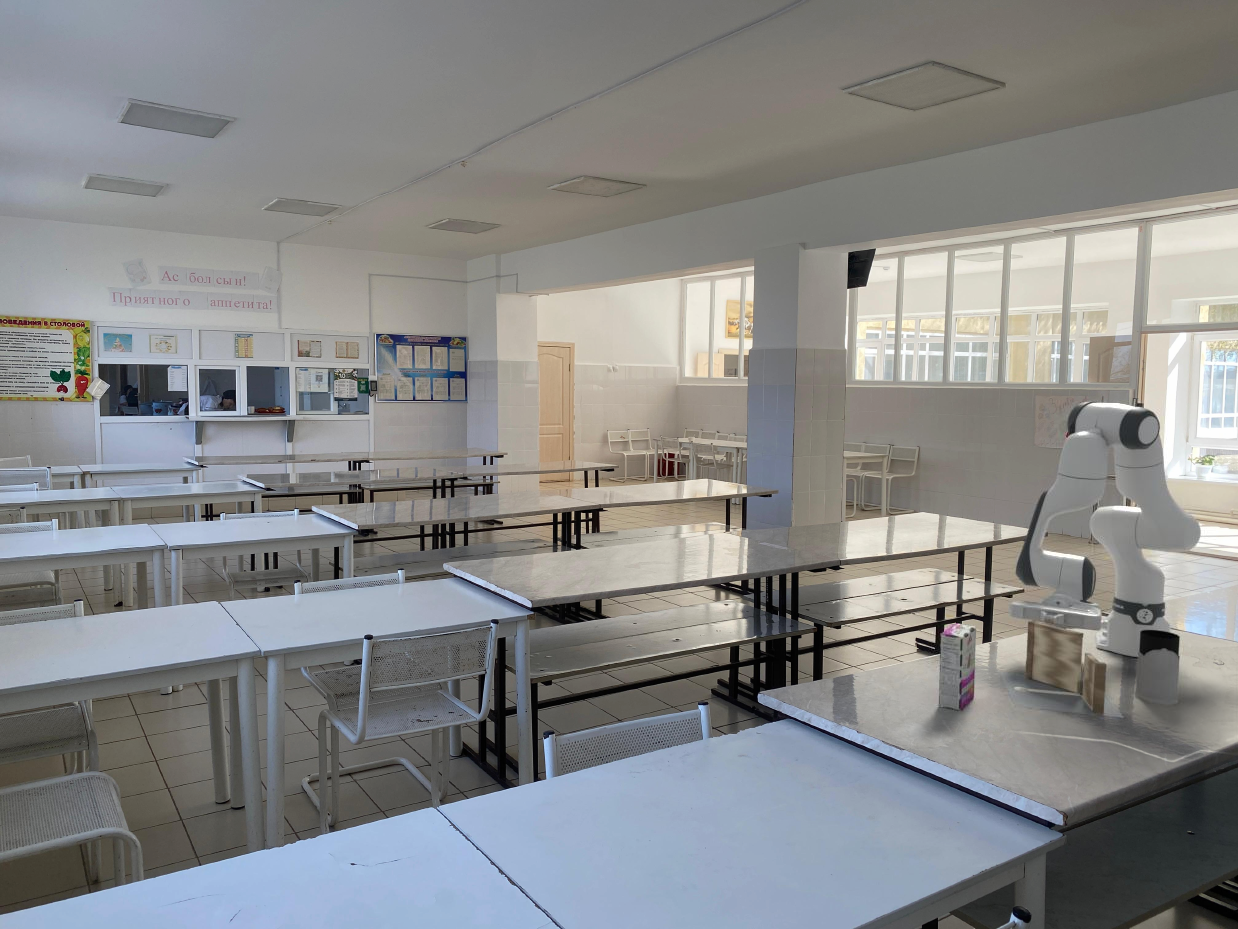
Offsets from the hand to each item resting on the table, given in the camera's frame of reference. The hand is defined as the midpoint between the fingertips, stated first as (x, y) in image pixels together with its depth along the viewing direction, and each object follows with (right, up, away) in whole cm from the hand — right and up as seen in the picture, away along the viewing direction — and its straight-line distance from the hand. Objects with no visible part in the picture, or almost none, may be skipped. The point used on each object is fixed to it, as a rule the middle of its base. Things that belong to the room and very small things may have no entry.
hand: (1049, 620), depth 202 cm
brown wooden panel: (-2, -14, -4) cm, 15 cm away
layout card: (-3, -15, -10) cm, 18 cm away
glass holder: (+19, -16, -9) cm, 26 cm away
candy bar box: (-28, -16, -15) cm, 36 cm away
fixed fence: (+1, -15, -16) cm, 22 cm away
